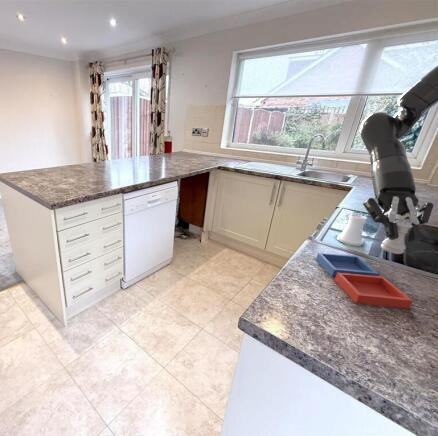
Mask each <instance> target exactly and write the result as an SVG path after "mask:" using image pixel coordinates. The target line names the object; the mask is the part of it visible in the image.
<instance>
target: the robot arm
mask: <svg viewBox="0 0 438 436" xmlns="http://www.w3.org/2000/svg"><path fill="white" fill-rule="evenodd" d="M437 104H438V65H436V66H435V67H434V68H432V69H431V70H430V71H429V72H428V73H426V74H425V75H424V76H423V77H422V78H421V79H419V80H418V81H417V82H415V84H414V85H412V86H411V87H410V88H409V89H408V90H406V91H405V92H404V93H403V94H402V95H400V97H399V98H398V99H397V105H398V106H399V107H400V109H399V110H398V112H397V113H396V114H395V116H393V115H391V113H387V112H384V111H377V112H374V113H371V114H370V115H368V116H367V117H365V119H364V120H363V121H362V123H361V125H360V128H359V134H360V138H361V140H362V142H363V144H364V147H365V149H366V150H367V152H368V155H369V161H370V169H371V172H370V175H371V182H372V187H373V195H374V196H375V197H369V198H368V199H366V200H365V201H364V202H363V203H362V205H363V206H364V208H365V210H366V211H367V213H368V214H369V216H370V217H371V219H372V221H373V222H374V223H380V224H382V225H383V228H384V233H385V234H384V235H385V236H386V237H387V238H388V239H389V240H394V239H397V238H398V237H399V235H398V230H397V225H396V223H394V222H396V217H397V216H396V215H398V217H399V219H403V220H402V221H405V220H408V221H407V222H409V221H411V222H412V224H411V225H412V226H413V227H411V228H409V229H408V233H407V234H406V239H407V242H409V243H414V242H417V241H419V239H420V238H421V233H420V229H419V227H421V226H423V225H425V224H428V223H429V220H430V217H431V215H432V211H433V208H434V204H433V203H432V202H426V203H425V202H422V201H420V200H419V198H418V197H417V196H416V190H417V187H416V183H415V180H414V175H413V171H412V167H411V164H410V162H409V159H408V155H407V151H406V148H405V145H404V144H403V142H402V141H401V139H402V138H403V137H405V136H406V135H407V134H408V133H409V131H411V129H412V128H413V127H414V126H415V125H416V124H417V123H419V120H420V119H421V118H422V117H423V116H424V115H425V113H427V111H429V110H431V109H432V108H433V107H435V105H437Z"/></svg>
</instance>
